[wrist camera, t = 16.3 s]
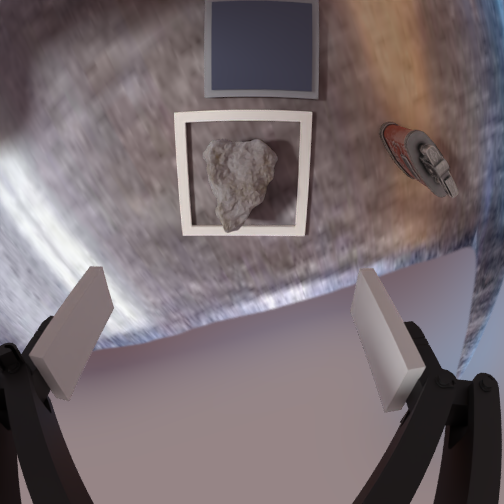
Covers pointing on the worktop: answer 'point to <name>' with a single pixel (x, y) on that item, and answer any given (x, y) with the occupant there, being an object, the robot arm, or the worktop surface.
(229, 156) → the stone
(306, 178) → the white flat square frame
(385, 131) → the lighter
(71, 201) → the worktop surface
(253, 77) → the ink pad
